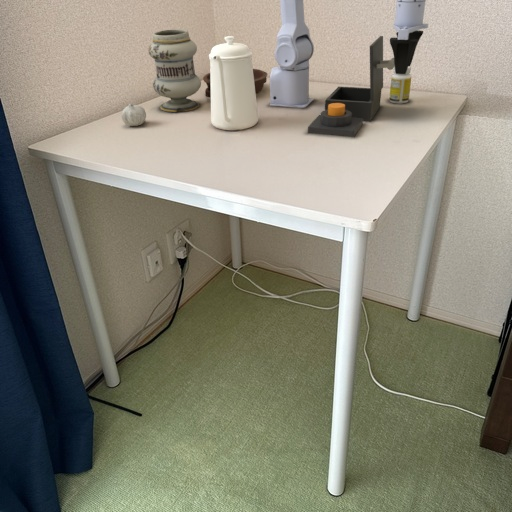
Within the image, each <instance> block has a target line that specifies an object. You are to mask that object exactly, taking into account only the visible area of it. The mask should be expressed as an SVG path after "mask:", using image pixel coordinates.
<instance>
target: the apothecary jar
mask: <svg viewBox="0 0 512 512" xmlns="http://www.w3.org/2000/svg"><path fill="white" fill-rule="evenodd" d="M197 52H198V47H197V44H196V42H195V41H194V40H193V39H191V37H190V35H189V31H188V30H186V29H182V28H179V29H176V28H174V29H163V30H159V31H156V32H153V34H152V42H151V43H150V45H149V46H148V55H149V56H150V57H151V59H153V60H154V65H155V72H156V78H155V79H154V80H153V83H152V88H153V90H154V92H155V93H156V94H158V95H159V96H161V97H164V98H168V99H169V100H168V101H166V102H163V103H162V104H161V105H160V110H162V111H164V112H167V113H180V112H188V111H193V110H195V109H197V108H199V103H198V101H196V100H194V99H193V100H192V99H190V98H188V97H191V96H193V95H195V94H196V93H197V92H198V91H199V89H200V88H201V86H202V81H201V79H200V77H199V76H198V75H197V74H196V70H195V64H194V63H195V62H194V56H195V55H196V54H197Z"/></svg>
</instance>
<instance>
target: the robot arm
mask: <svg viewBox="0 0 512 512" xmlns="http://www.w3.org/2000/svg"><path fill="white" fill-rule="evenodd" d="M426 2H427V1H426V0H396V5H395V16H394V23H393V25H392V28H393V30H395V31H396V33H395V35H396V37H390V38H389V44H390V47H391V50H392V54H393V58H394V64H395V73H396V74H406V71H407V69H408V66H411V65H412V62H413V61H414V60H413V58H414V56H415V53H416V49H417V46H418V43H419V41H420V39H421V37H422V36H423V34H424V30H422V29H428V28H429V23H424V16H425V9H426ZM279 6H280V19H281V26H280V28H279V31H278V33H277V35H276V46H275V49H274V58H275V62H276V63H277V65H278V66H273V67H272V69H271V71H270V75H269V95H270V97H269V98H270V100H269V101H270V103H269V106H271V107H282V108H283V107H284V108H298V109H305V108H307V107H308V106H309V105H310V104H311V103H312V102H313V101H314V98H313V97H309V95H310V93H309V91H310V60H311V58H312V57H313V55H314V52H315V46H314V43H313V41H312V38H311V35H310V29H309V26H307V23H306V22H305V8H304V7H305V5H304V0H279Z"/></svg>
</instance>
